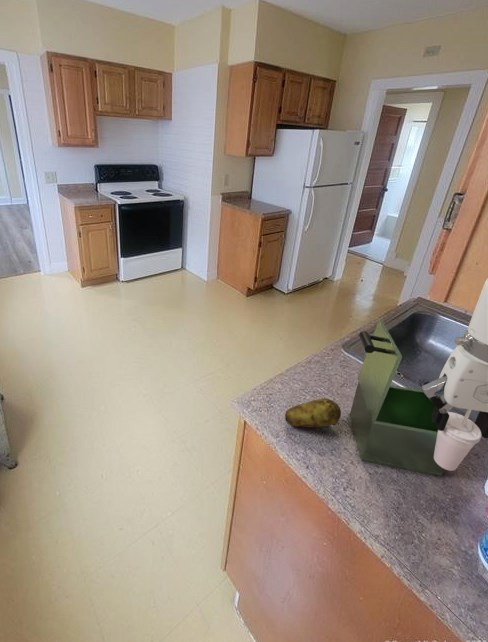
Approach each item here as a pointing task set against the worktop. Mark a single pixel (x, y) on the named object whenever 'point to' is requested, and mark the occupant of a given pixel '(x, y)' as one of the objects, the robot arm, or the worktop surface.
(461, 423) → the smoothie
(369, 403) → the lid
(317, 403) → the potato
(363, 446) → the caddy
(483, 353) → the robot arm
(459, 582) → the worktop surface
